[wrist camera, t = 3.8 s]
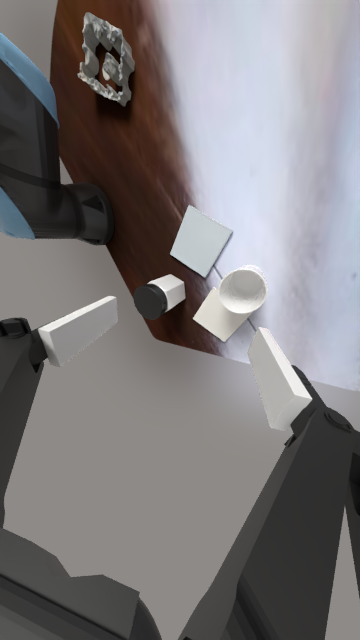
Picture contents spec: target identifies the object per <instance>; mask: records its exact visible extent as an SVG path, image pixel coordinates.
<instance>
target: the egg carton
mask: <svg viewBox="0 0 360 640" xmlns="http://www.w3.org/2000/svg"><path fill="white" fill-rule="evenodd" d="M82 32H83V34H84V44H82V48H83V51H84V52H85V54H86V64H85V63H83V62H81V63H80V74H78V73H77V76H78V77H79V78H80V79H82V80H83V81H85V82H86V83H88V84H89V85H90V87H91V88H92V90H94V91H95V92H96V93H98V94H100V95H103V96H104V97H107V98H108V99H110V100H116V101H118V102H119V103H120V104H121V105H122V106H125V105H126V102H127V101H128V100H131V91H130V90H129V87H128V78H129V75H130V73H131V72H134V66H135V61H134V60H133V59H132V54H131V47H130V46H129V44H128V43H127V42H126V40H125V39H124V38H123V36H122V30H121V29H118V28H115V27H114V26H113V25H112V26H111V25H110V24H109V23H108V22H107V21H103V20H102V19H100V18H97V17H96V16H94V15H93V14H91V13H89V12H86V14H85V17H84V29H83V31H82ZM99 42H101V44H102V45H103V46H104V47H105V48H106V49H107V51H110V50H111V49H112V46H113V47H114V48H115V49H116V51H117V52H118V53H119V54H120V56H121V58H120V60H121V63H120V64H119V63H118V62H117V61H116V60H115V58H114V57H113V56H112V55H111V54H110V53H106V55H105V56H106V58H105V62H104V64H103V76H104V78H105V80H107V81H108V80H109V79H110V78H111V79H112V80H113V81H114V82H115V83H116V84H117V85H118V86H121V85H122V87H123V90H122V92H119V93H118V94H117V93H116V92H115V91H114V90H113V89H112V88H111V87H110V86H109V85H108V84H107V89H106V88H105V87H104V86H103V85H102V84H100V83H99V82H98V81H97V80H96V79H95V75H97V74H98V71H99V61H98V58H97V57H96V55H95V50H96V46H98V44H99Z"/></svg>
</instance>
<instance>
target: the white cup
mask: <svg viewBox="0 0 360 640" xmlns="http://www.w3.org/2000/svg"><path fill="white" fill-rule="evenodd" d="M267 292H268V289H267V283H266V278H265V276H264V273H263V272H262V270H261V269H260V268H258V267H256V266H254V265H245V266H241V267H239V268H237V269H235V270H233V271H232V272H230V273H228V274H227V275H226V276H225V277H224V278H223V279H222V281H221V282H220V285H219V288H218V296H219V299H220V302H221V303H222V305H223V306H224V307H225V308H226V309H228V310H229V311H231V312H233V313H237V314H246V313H250V312H253V311H255V310H257V309H258V308H259V307H260V306H261V305H262V304H263V303H264V301H265V299H266V297H267Z"/></svg>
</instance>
